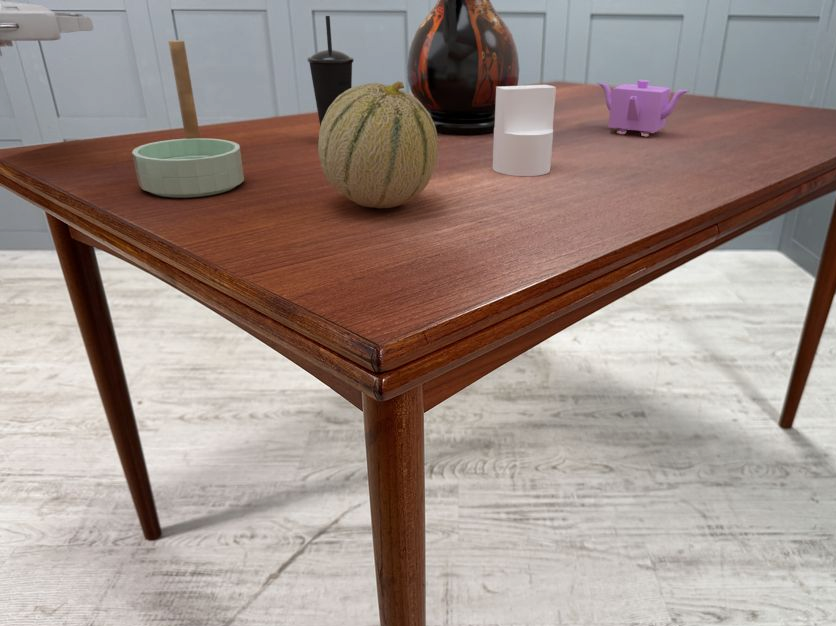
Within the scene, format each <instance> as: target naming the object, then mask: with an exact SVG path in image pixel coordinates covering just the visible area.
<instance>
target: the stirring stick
mask: <svg viewBox="0 0 836 626" xmlns="http://www.w3.org/2000/svg"><path fill="white" fill-rule="evenodd" d="M167 43H168V46H169V53H170V58H171V65H172V70H173V77H174V81H175V87H176V94H177V98H178V99H177V100H178V105H179V110H180V115H181V121H182V122H181V123H182V126H183V133H184V139H189V138H201V134H200V128H199V121H198V115H197V110H196V109H197V108H196V103H195V99H194V92H193V85H192V79H191V74H190V68H189V67H190V66H189V61H188V56H187V49H186V44H185V40H183V39H182V40H181V39H176V40H175V39H173V40H168V41H167Z"/></svg>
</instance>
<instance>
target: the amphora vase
mask: <svg viewBox="0 0 836 626" xmlns="http://www.w3.org/2000/svg"><path fill="white" fill-rule="evenodd" d="M406 74H407V77H406V78H407V83H408V86H409V89H410V92H411V94H412V95H413V96H414V97H415V98H417V99H418V100H419V101H420V103H421V104H422V105H423V106H424V108H425V109H426V110H427V111H428V113H429V114H430V116H431V118H432V120H433V122H434V124H435V128H436V132H437V133H442V134H451V135H480V134H487V133H494V128H495V105H496V87H502V86H519V79H520V61H519V53H518V49H517V45H516V42H515V39H514V37H513V34H512V32H511V30H510V29H509V26H507V24H506V22H505V21H504V20H503V19H502V16H500V14H499V13H498V12H497V10H496V9H495V7H494V6H493V3H492V2H491V0H437V2H436V4H435V5H434V6H433V8H432V10H431V11H430V12H429V13H428V14H427V15H426V17H425V18H424V20H422V22H421V23H420V24H419V25H418V27H417V29H416V31H415V33H414V35H413V37H412V40H411V43H410V46H409V49H408V55H407V63H406Z"/></svg>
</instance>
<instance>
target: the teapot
mask: <svg viewBox="0 0 836 626" xmlns="http://www.w3.org/2000/svg"><path fill="white" fill-rule="evenodd" d="M636 83H637V84H632V83H623V84H621V85H618V86H615V87H613V88H612V89H611V87H610V85H609V84H607V83H604V82H596V84H597V85H599V86H600V87H601V89H603V91H604V95H605V97H604V98H605V104H606V107H607V109H608V111H609V116H608V126H607V127H608V128H613V129H617V131H621V132H625V131H627V130H628V129H630V130H631V131H638V132H639V134H640V133H643V134H648V133H649V132H656V133H657V132H658V131H660V130H661V129H663V128H664V127H666V121H667V118H668V117H669V116H671V115H672V113H673V112H674V110H675V109H676V106H677V104H678V102H679V100H680V98H681V97H682V96H683V95H685V94H686V93H689V92H690V90H688V89H679V90H677V91H676V92H675V93H674V94H673V96H672V98H671V100H670V95H671V90H672V89H671V87H666V86H655V85H649V83H650V80H648V79H637V80H636ZM669 101H670V102H669ZM627 132H628V131H627ZM649 134H650V133H649Z"/></svg>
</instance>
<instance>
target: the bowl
mask: <svg viewBox="0 0 836 626" xmlns="http://www.w3.org/2000/svg"><path fill="white" fill-rule="evenodd" d="M240 145H241V144H239V143H237V142H235V141H231V140H227V139H219V138H206V137H205V138H203V137H202V138H201V137H200V138H189V139H185V138H177V139H166V140H160V141H155V142H154V141H153V142H149V143H145V144H141V145H139V146H137V147H135V148H134V149H133V150H132V152H131V156H132V160H133V165H134V169H135V174H136V180H137V183H138V187H139V188H141V190H143V191H144V192H145V191H146V192H149V193H150V194H152V195H154V196H155V195H156V196H159V197H166V198H199V197H206V196H208V197H209V196H213V195H218V194H222V193H226V192H229V191H231V190H233V189H235V188H236V187H237V186H239V185H241V184H242V183H243V182H245V175H244V167H243V159H242V153H241V146H240Z"/></svg>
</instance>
